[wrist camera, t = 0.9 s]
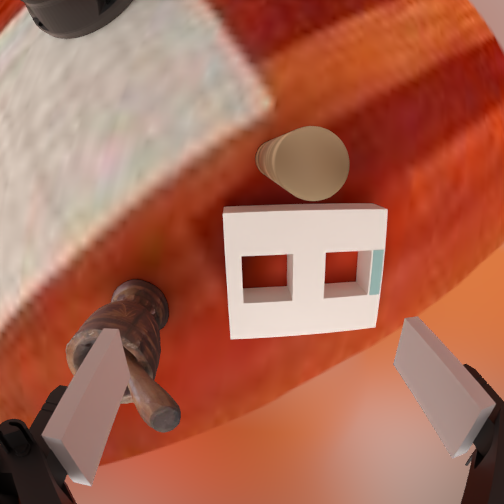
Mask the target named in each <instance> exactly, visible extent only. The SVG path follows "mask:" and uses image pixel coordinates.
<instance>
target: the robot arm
mask: <svg viewBox="0 0 504 504" xmlns="http://www.w3.org/2000/svg"><path fill="white" fill-rule="evenodd" d="M21 1H23V2H24V3H25V5H26V7H27V9H28V11H29V13H30V15H31V17H32V18H33V20H34V22H35V24H36V25H37V26H38V27H39V28H40V29H41V30H43V31H44V32H46V33H48V34H50V35H52V36H54V37H57V38H64V39H67V38H76V37H80V36H84V35H86V34H89V33H91V32H94V31H96V30H98V29H100V28H101V27H103V26H105V25H106V24H108V23H109V22H111V21H112V20H113V19H115V18H116V17H117V16H118V15H119V14H120V13H121V12H122V11H123V10H125V8H126V7H127V6H128V5H129V4H130V3H131V1H132V0H21ZM393 365H394V366H395V368H396V369H397V371H398V372H399V374H400V375H401V377H402V378H403V380H404V381H405V383H406V385H407V386H408V388H409V389H410V391H411V392H412V394H413V395H414V397H415V399H416V400H417V402H418V403H419V405H420V406H421V408H422V410H423V411H424V413H425V414H426V416H427V418H428V419H429V421H430V422H431V424H432V426H433V427H434V429H435V430H436V432H437V434H438V435H439V437H440V439H441V440H442V442H443V444H444V446H445V447H446V449H447V450H448V452H449V454H450V456H451V457H452V458H455V457H457V456H459V455H462V454H464V453H466V452H467V451H468V450H469V448H470V446H471V445H472V443H474V445H475V446H476V449H475V451H474V452H473V453H472V455H471V456H470V458H469V459H468V461H467V463H466V464H465V465H466V466H467V465H468V464H469V463H470V461H471V466H470V470H469V475H468V479H467V483H466V487H465V490H464V495H463V498H462V501H461V504H504V401H503V400H502V399H501V398H500V397H499V396H498V395H497V393H496V392H495V391H494V390H493V389H492V388H491V386H490V385H489V384H487V382H486V381H485V380H484V378H482V376H481V375H480V374H479V373H478V372H477V371H476V370H475V369H474V368H472V367H471V366H469V365H467V364H464V365H462V364H461V363H460V361H459V360H458V359H457V358H456V357H455V356H454V355H453V354H452V353H451V352H450V350H449V349H448V348H447V347H446V346H445V345H444V344H443V343H442V342H441V341H440V339H438V337H437V336H436V335H435V334H434V333H433V332H432V331H431V330H430V329H429V328H428V327H427V326H426V325H425V324H424V323H423V321H422V320H421V319H419V317H410V318H405V319H404V324H403V328H402V333H401V336H400V341H399V345H398V348H397V352H396V356H395V360H394V363H393ZM130 377H131V376H130V372H129V369H128V365H127V361H126V357H125V353H124V349H123V345H122V341H121V337H120V332H119V329H108V328H104V329H103V330H102V332H101V333H100V335H99V336H98V338H97V340H96V341H95V343H94V344H93V346H92V348H91V349H90V351H89V352H88V354H87V356H86V357H85V359H84V361H83V362H82V364H81V366H80V367H79V369H78V371H77V372H76V374H75V376H74V377H73V379H72V381H71V382H70V384H69V386H68V387H67V386H61V385H60V386H58V387H57V388H56V389H55V390H53V391H52V392H51V393H50V395H49V396H48V398H47V400H46V401H45V402H46V403H44V405H43V406H42V408H41V410H40V411H39V413H38V415H37V417H36V418H35V420H34V422H33V423H32V425H31V427H30V429H28V428H27V426H26V424H25V423H24V422H23V421H21V420H18V419H10V420H7V421H5V422H2V423H1V424H0V504H77V503H76V502H75V500H74V498H73V496H72V494H71V492H70V490H69V488H68V486H67V484H66V483H65V481H64V480H65V478H66V475H67V474H68V475H69V477H70V478H71V479H72V481H73V482H76V483H80V484H84V485H89V486H92V484H93V480H94V477H95V474H96V471H97V468H98V465H99V462H100V459H101V456H102V453H103V450H104V447H105V444H106V442H107V439H108V436H109V433H110V430H111V427H112V425H113V422H114V419H115V416H116V414H117V411H118V408H119V405H120V403H121V400H122V397H123V395H124V392H125V390H126V387H127V384H128V382H129V379H130Z"/></svg>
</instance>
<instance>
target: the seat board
mask: <svg viewBox="0 0 504 504" xmlns="http://www.w3.org/2000/svg"><path fill="white" fill-rule="evenodd" d="M387 213H388V209H386V208H383V207H381V206H378V205H376V204H373V203H332V204H283V205H253V206H229V207H224V210H223V227H224V245H225V262H226V278H227V293H228V308H229V322H230V336H231V339H248V338H266V337H281V336H295V335H307V334H318V333H329V332H339V331H348V330H357V329H365V328H373V327H375V326H376V320H377V313H378V306H379V299H380V291H381V283H382V274H383V265H384V254H385V243H386V229H387ZM346 251H358V261H357V274H356V282H342V283H328V284H324V281H325V259H326V252H346ZM282 254H287V286H279V287H260V288H243V283H242V261H241V256H260V255H282Z"/></svg>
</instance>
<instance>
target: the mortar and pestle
mask: <svg viewBox="0 0 504 504" xmlns="http://www.w3.org/2000/svg"><path fill="white" fill-rule="evenodd" d="M168 317H169V311H168V304H167V300H166V298H165V296H164V294H163V293H162V292H161V290H159V289H158V288H157V287H156V286H154V285H152V284H151V283H148V282H146V281H143V280H129V281H126V282H124V283H123V284H122V285H120V286H119V287H118V288H117V289H116V290H115V291H114V293H113V297H112V300H111V303H109V304H107V305H105V306H103V307H101V308H99V309H98V310H96V311H95V312H94V313H93V314H92V315H91V316H90V317H89V318H88V319H87V320H86V321H85V323H84V324H83V325H82V326H81V328H80V329H79V330H78V332H77V333H76V334H75V335H74V336H73V338H72V339H71V340H70V342H69V343H68V344H67V346H66V355H67V356H66V358H67V362H68V366H69V368H70V370H71V372H72V373H73V375H74V376H75V374H76V372H77V371H78V369H79V367H80V366H81V364H82V362H83V361H84V359H85V357H86V356H87V354H88V352H89V351H90V349H91V348H92V346H93V344H94V343H95V341H96V340H97V338H98V336H99V335H100V333H101V332H102V330H103V329H104V328H108V329H119V332H120V337H121V341H122V345H123V349H124V353H125V357H126V361H127V365H128V369H129V372H130V376H131V377H130V379H129V382H128V384H127V387H126V390H125V392H124V395H123V397H122V400H121V403H120V404H122V403H131V402H134V404H135V406H136V408H137V410H138V412H139V413H140V416H141V417H142V419H143V420H144V421H145V422H146V423H147V424H148V425H149V426H150V427H152V428H153V429H155V430H156V431H159V432H168V431H171V430H173V429H174V428H175V427H176V426H177V425H178V424H179V422H180V418H181V411H180V408H179V406H178V404H177V403H176V402H175V401H174V400H173V398H172V397H171V396H170V395H169V394H168V393H167V392H166V391H165V390H164V389H163V388H162V387H161V386H160V385H159V384H157V383H156V382H155V381H154V379H155V376H156V371H157V368H158V364H159V358H160V353H161V347H160V329H162V328H163V327H164V326H165V325H166V323H167V321H168Z"/></svg>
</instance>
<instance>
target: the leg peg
mask: <svg viewBox="0 0 504 504" xmlns="http://www.w3.org/2000/svg"><path fill="white" fill-rule="evenodd" d="M255 162H256V165H257V167H258V169H259V170H260V171H261V172H262V173H263V174H264V175H266V176H267V177H268V178H270V179H271V180H273V181H274V182H276V183H277V184H278V185H280V186H281V187H283V188H284V189H285V190H287V191H288V192H290V193H291V194H292V195H294V196H296V197H298V198H300V199H303V200H307V201H319V200H324V199H326V198H329V197H331V196H332V195H334V194H335V193H336V192H337V191H339V190H340V188H341V187H342V186H343V184H344V183H345V181H346V179H347V176H348V172H349V157H348V153H347V150H346V148H345V146H344V144H343V142H342V141H341V140H340V139H339V138H338V137H337V136H336V135H335V134H334V133H332V132H331V131H329V130H327V129H325V128H322V127H317V126H307V127H302V128H299V129H296V130H294V131H291V132H289V133H286V134H284V135H282V136H279V137H277V138H274V139H272V140H270V141H267V142H265V143H264V144H262V145H261V146H260V147H259V148H258V150H257V152H256V156H255Z"/></svg>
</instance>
